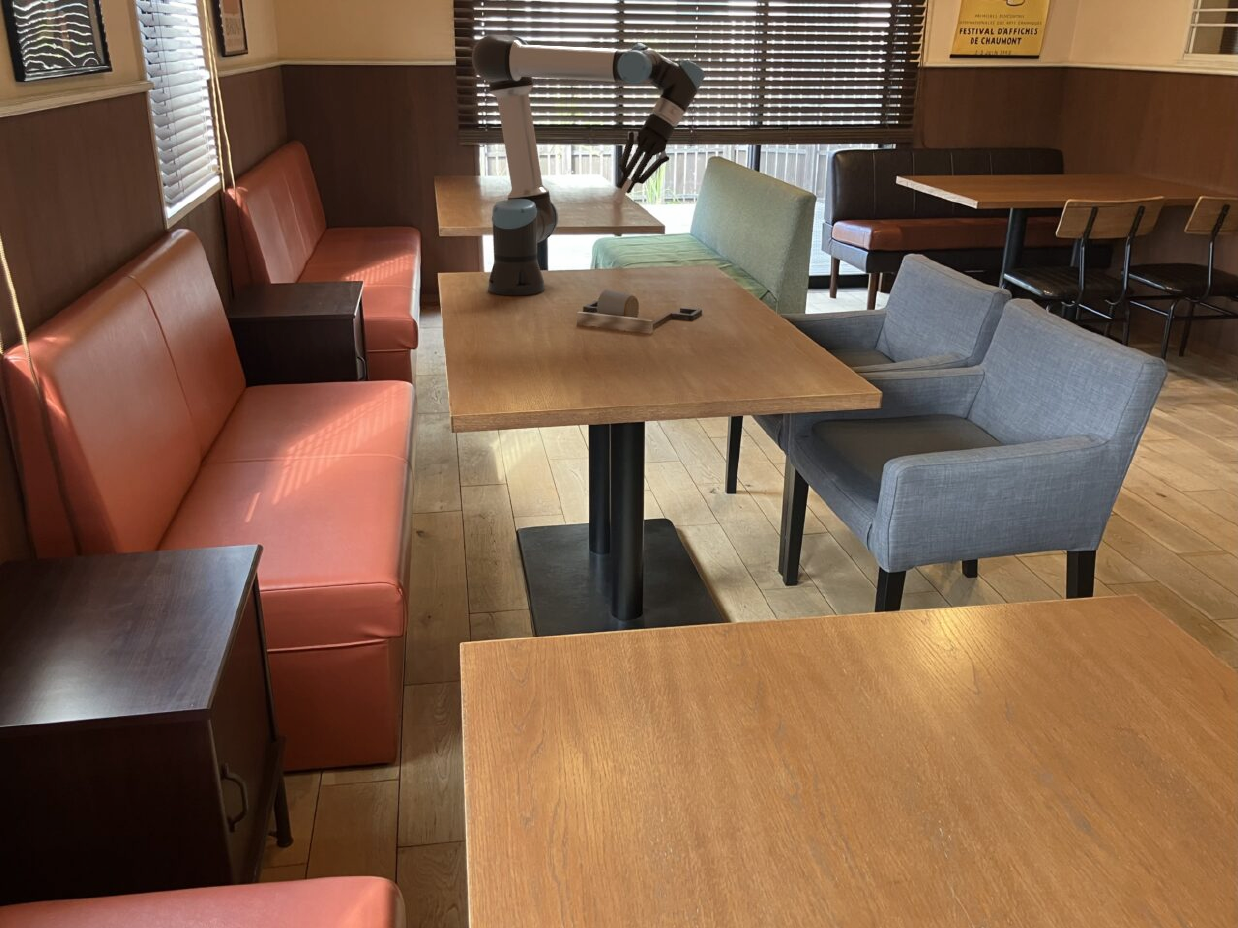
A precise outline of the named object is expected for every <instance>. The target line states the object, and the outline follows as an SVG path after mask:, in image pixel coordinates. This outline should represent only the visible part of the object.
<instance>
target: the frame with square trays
mask: <svg viewBox="0 0 1238 928" xmlns="http://www.w3.org/2000/svg"><path fill="white" fill-rule="evenodd" d="M597 303H598V300H594V301H592V302H590V303H588V304H586V305H584V306H582V310H583V311H577V312H576V325H577V326H582V325H586V326H585V327H590V326H596V327H595V328H598V327H602V328H601V329H607V328H611V329H610V330H615V329H619V330H618V331H624V330H625V331H626V332H633V333H635V332H636V333H643V334H651V335H652V333H653V332H654V330H655V329H656V328H657V327H659V326H660V325H663V324H664V323H666V322H667V321H670V320H671V319H675V320H683V321H694V320H695V319H697V318H698V317H700V316H702V315H703V309H699V308H691V307H680V308H679V312H667V313H666V314H664V315H662V316H660V317H659V318H657V319H655V320H654V319H648V318H640V317H639V318H638V317H637V318H632V317H623V316H614V315H605V314H597ZM625 331H624V332H625Z"/></svg>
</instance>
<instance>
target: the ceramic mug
mask: <svg viewBox="0 0 1238 928" xmlns="http://www.w3.org/2000/svg"><path fill="white" fill-rule="evenodd" d="M597 301H598V303H597V314H605V315H614V316H623V317H632V318H638V316H639V313H640V312H639V310H640V309H639V308H640V305H639V300H638V298H637V297H636V296H635V295H633V294H631V293H628V292H623V291H620V290H614V289H610V288H606V289H604V290H603V291H601V293H600V294H599V297H598V299H597Z"/></svg>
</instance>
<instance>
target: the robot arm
mask: <svg viewBox="0 0 1238 928" xmlns="http://www.w3.org/2000/svg"><path fill="white" fill-rule="evenodd" d="M471 61H472V63H471V64H472V66H473V69H474V71H475V72H476V74H477V75H478V76H479V77H480V79H482V80H484V81H486V82H488V87H489V93H490V94H492V96H494V97H495V98H496V99H497V106H498V112H499V118H500V124H501V125H500V126H501V131H502V137H503V138H502V139H503V144H504V149H505V155H506V162H507V168H508V174H509V180H510V186H511V191H510V192H509V193H508V195H507V200H501V201H499V202H496V203H495V204H494V205H493V207H492V215H491V221H492V241H493V246H492V247H493V265H492V269H491V272H490V274H489V275H490V276H489V279H488V291H489V293H493V294H495V295H501V296H530V295H536V294H539V293H542V292H544V291H545V280H544V277H543V274H542V271H541V268H540V266H539V262H538V243H543V242H544V241H546V240H547V239H549V237H551V236H552V235H553V234H554V232H555V231H556V229H557V227H558V224H559V213H558V210H557V208H556V206H555V204H554V203H553V202H552V201H551V196H550V190H549V189H548V188H547V187H545V186H544V185H543V179H542V174H541V173H542V172H541V166H540V159H539V154H538V147H537V145H538V144H537V141H536V140H537V139H536V134H535V126H534V121H533V114H532V107H531V100H530V92H531V91H532V89H533V87H534V83H533V78H537V79H556V80H557V79H559V80H575V81H591V82H592V81H593V82H595V81H596V82H614V83H615V82H616V83H628V84H632V85H638V84H639V85H640V84H642V83H648V85H650V86H653V87H654V88H656V89H658V90H659V91H661V92H662V93H661V94H660V96H659V98H658V100H657V101H656V103H655V105H654V107H653V108H652V110H651V111H652V113H650V114H649V115H648V117H647V119H646V120H645V122H644V124H643V126H641V128H639V129H638V130H637V131H627V132H626V141H625V146H624V149H623V152H622V155H621V157H620V161H619V165H618V170H619V171H620V173H621V177H620V178H619V180H618V182H617V183H616V187H618V189H617V191H616V192H615V193H614V196H613V197H612V200H613V201H614V202H615V203H618V204H620V203H622V201H623V199H624V198H625V197H624V196H625V195H627V194H631V193H632V191H633V189H634V187H635V185H636V184H641V185H643V184H645V182H646V181H648V180H649V179H650V178H651V176H653V174H654V173H655V172H656V171H657V170H658V169H659V168H660V167H661V166H662V165H663V164H665V163H667V162H669V160H670V156H668V154H667V152H666V149H667V144H668V142H669V141H670V139H671V137H672V136H673V134H674V132H675V131H676V129H675V127H677V126H678V125H679V124H680V121H681V120H682V118H683V116H684V114H685V113H686V111H687V110H688V108H689V106H690V105H691V103H692V101H694V99H695V97H696V95H697V93H698V92H699V89H700V87H701V85H702V83H703V81H704V80H705V77H706V74H705V71H704V69H703V68H701V67H700V66H699V65H698V64H696V63H695V62H693V61H691V60H689V59H687V58H683V59H681V60H680V62H678V63H677V62H674V61H672V60H670V59H669V58H667V57H665V56H664V55H662V54H661V53H659V52H657V51H656V50H654V49H653V48H652V47H651V46H648V45H646V44H643V43H641V42H638V43H636V44H635V45H633V47H632V48H631V49H617V48H616V49H614V48H598V47H596V48H595V47H578V46H577V47H576V46H555V45H536V44H535V45H534V44H529V43H528V42H527V41H526V40H524V39H523V38H521V37H519V36H516V35H514V34H513V35H512V34H488V35H486V36H484V37H482V38H480V39H479V40H478V41H477V42H476V44H475V46H474V47H473V50H472V54H471ZM636 139H637V140H636ZM635 141H637V147H636V149H635V152H634V153H633V155H632V157H631V158H630V156H631V153H632V149H633V147H634V142H635ZM658 154H659V155H658ZM642 155H643V157H642ZM655 155H656V156H657V155H658V158H657V159H656V160H654V162H653V163H652V164H651V165H650V166H649V167H648V168H647V169H646V167H647V166H648V164H649V163H650V161H651V160H652V158H653V157H654V156H655ZM641 157H642V158H641ZM640 159H641V160H640ZM639 161H640V162H639ZM638 162H639V164H638ZM637 164H638V166H637ZM636 166H637V167H636ZM635 167H636V169H635ZM634 169H635V170H634ZM633 171H634V173H633V174H632V172H633ZM631 174H632V176H631ZM630 176H631V178H629V177H630Z"/></svg>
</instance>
